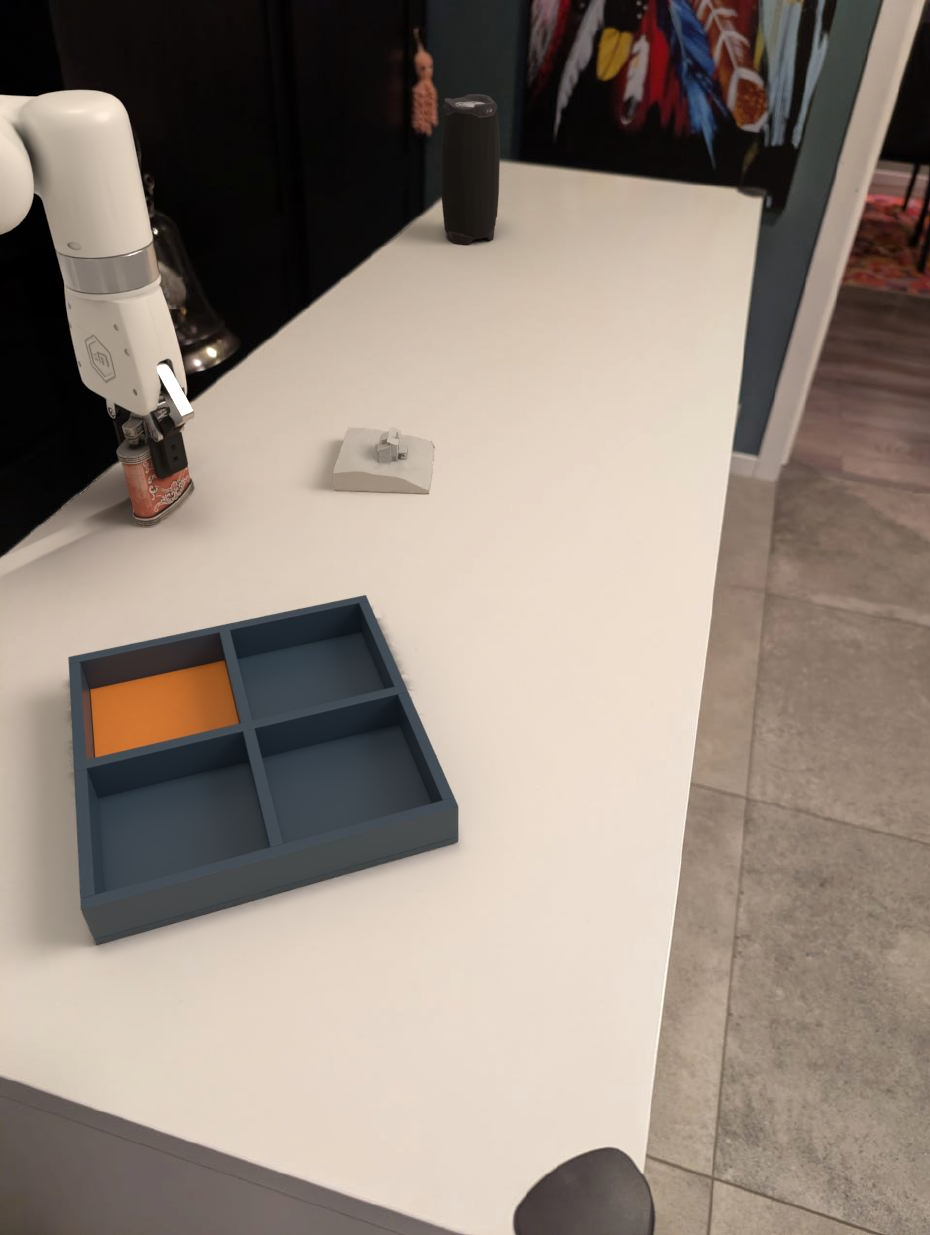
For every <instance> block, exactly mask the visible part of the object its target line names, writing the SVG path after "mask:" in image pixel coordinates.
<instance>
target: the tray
mask: <svg viewBox="0 0 930 1235" xmlns="http://www.w3.org/2000/svg"><path fill="white" fill-rule="evenodd" d="M67 661H68V677H69V678H68V679H69V696H70V697H69V700H70V718H71V720H70V721H71V737H72V738H71V739H72V759H73V776H74V777H73V781H74V782H73V783H74V798H75V799H74V800H75V802H74V803H75V820H76V842H77V860H78V862H77V863H78V880H79V881H78V882H79V883H78V884H79V901H80V902H79V903H80V912H81V914H82V917H83V919H84V921H85V923H86V925H87V927H88V930H89V932H90V934H91V937H92V939H93V941H94V944H95V945H96V946H97V945H98V946H99V945H102V944H105V943H108V942H111V941H116V940H119V939H123V938H127V937H130V936H133V935H137V934H140V933H144V932H147V931H151V930H155V929H159V928H161V927H165V926H168V925H171V924H175V923H180V922H183V921H185V920H189V919H194V918H197V917H200V916H203V915H207V914H211V913H214V912H218V911H222V910H225V909H227V908H232V907H235V906H238V905H242V904H245V903H249V902H253V901H256V900H260V899H263V898H268V897H270V896H274V895H277V894H281V893H284V892H288V891H291V890H295V889H298V888H301V887H302V888H303V887H305V886H309V885H312V884H316V883H319V882H322V881H327V880H330V879H334V878H337V877H341V876H344V875H348V874H352V873H355V872H358V871H362V870H365V869H369V868H373V867H376V866H379V865H384V864H387V863H389V862H390V863H391V862H393V861H397V860H401V859H404V858H407V857H411V856H415V855H418V854H422V853H426V852H428V851H432V850H435V849H439V848H443V847H447V846H449V845H454V844H457V843H459V804H458V802H457V800H456V798H455V795H454V792H453V791H452V789H451V788H452V787H451V786H450V784H449V782H448V778H447V777H446V774H445V773H444V770H443V767H442V765H441V763H440V761H439V759H438V756H437V754H436V752H435V749H434V747H433V745H432V743H431V740H430V738H429V736H428V733H427V731H426V729H425V727H424V724H423V722H422V720H421V718H420V715H419V713H418V711H417V708H416V706H415V703H414V701H413V699H412V697H411V695H410V692H409V690H408V688H407V686H406V683H405V681H404V678H403V676H402V674H401V672H400V669H399V668H398V665H397V662H396V661H395V657H394V655H393V653H392V651H391V648H390V647H389V644H388V643H387V640H386V637H385V635H384V633H383V630H382V628H381V626H380V624H379V621H378V619H377V617H376V615H375V612H374V610H373V607H372V605H371V603H370V602H369V599H368V596H367V595H366V594H364V595H359V596H355V597H354V596H353V597H349V598H345V599H344V598H343V599H340V600H336V601H330V602H325V603H320V604H315V605H312V606H311V605H310V606H307V607H306V606H305V607H301V608H297V609H292V610H288V611H287V610H286V611H282V612H278V613H272V614H268V615H263V616H258V617H253V618H248V619H244V620H239V621H234V622H229V623H225V624H220V625H215V626H210V627H205V628H201V629H196V630H195V629H194V630H190V631H186V632H181V633H176V634H172V635H167V636H162V637H158V638H157V637H156V638H153V639H147V640H143V641H139V642H134V643H129V644H124V645H119V646H114V647H110V648H109V647H108V648H105V649H99V650H95V651H90V652H86V653H81V654H76V655H71V656H68V658H67Z"/></svg>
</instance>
